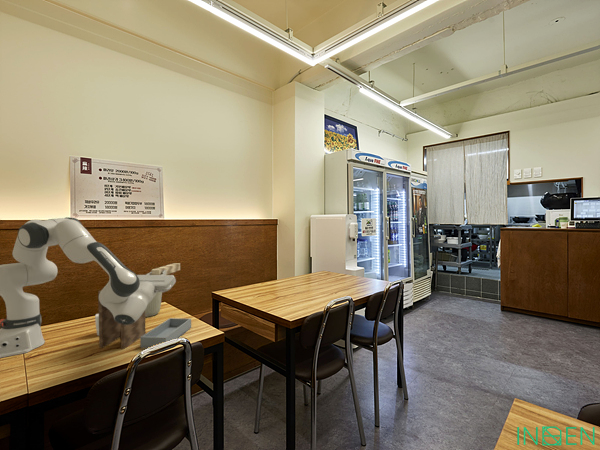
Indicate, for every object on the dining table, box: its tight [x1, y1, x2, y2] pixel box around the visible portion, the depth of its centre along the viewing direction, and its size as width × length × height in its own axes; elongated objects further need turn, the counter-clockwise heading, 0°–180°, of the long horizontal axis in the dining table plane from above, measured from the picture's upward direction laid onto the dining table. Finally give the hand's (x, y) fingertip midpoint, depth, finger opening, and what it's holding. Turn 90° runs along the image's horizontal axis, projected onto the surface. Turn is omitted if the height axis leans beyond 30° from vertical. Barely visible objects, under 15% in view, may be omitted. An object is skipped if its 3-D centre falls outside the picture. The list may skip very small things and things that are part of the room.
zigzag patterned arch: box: [97, 289, 147, 350], centre depth 143 cm, size 16×12×26 cm
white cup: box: [94, 313, 99, 337], centre depth 153 cm, size 8×8×10 cm
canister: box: [145, 292, 163, 318], centre depth 182 cm, size 18×18×21 cm
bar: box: [151, 262, 181, 275], centre depth 147 cm, size 20×4×4 cm, turn 175°
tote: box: [139, 317, 192, 349], centre depth 147 cm, size 26×12×5 cm, turn 175°
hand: (159, 270), depth 140 cm, fingers closed on bar, 3 cm apart
